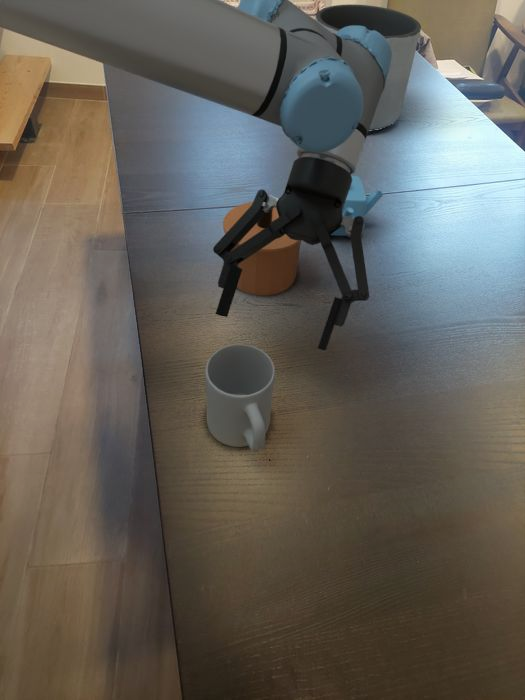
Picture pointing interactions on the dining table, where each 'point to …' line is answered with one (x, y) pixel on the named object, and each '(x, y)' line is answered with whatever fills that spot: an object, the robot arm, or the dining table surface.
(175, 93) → the dining table surface
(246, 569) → the dining table surface
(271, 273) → the pot
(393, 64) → the planter
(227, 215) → the pot lid
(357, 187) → the teapot
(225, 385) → the mug
